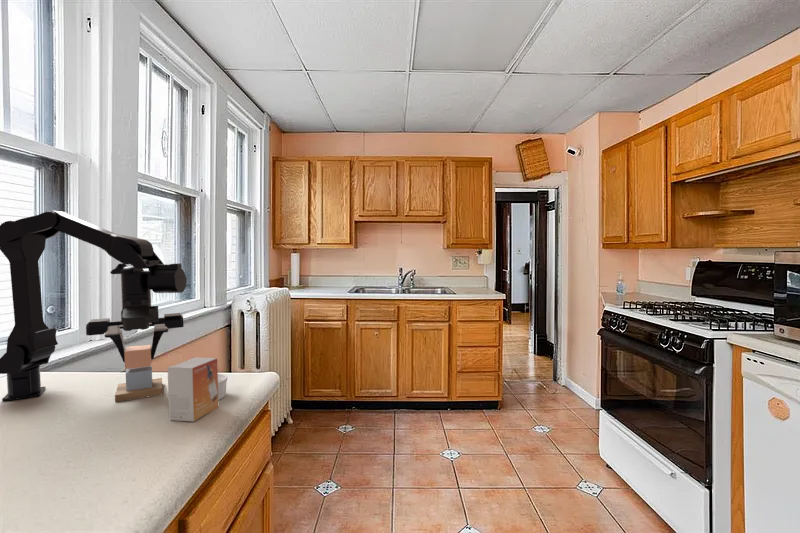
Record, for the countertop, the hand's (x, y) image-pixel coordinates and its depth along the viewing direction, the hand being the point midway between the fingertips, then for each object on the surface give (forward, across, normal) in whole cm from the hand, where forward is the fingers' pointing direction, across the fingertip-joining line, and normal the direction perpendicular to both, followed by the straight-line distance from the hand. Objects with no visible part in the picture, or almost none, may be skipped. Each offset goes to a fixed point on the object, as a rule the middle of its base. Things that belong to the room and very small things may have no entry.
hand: (138, 360), depth 99 cm
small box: (+8, +10, -21) cm, 25 cm away
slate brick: (+6, 0, 0) cm, 6 cm away
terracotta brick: (+1, 0, 0) cm, 1 cm away
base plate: (+8, 0, 0) cm, 8 cm away
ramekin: (+8, +13, -12) cm, 19 cm away
